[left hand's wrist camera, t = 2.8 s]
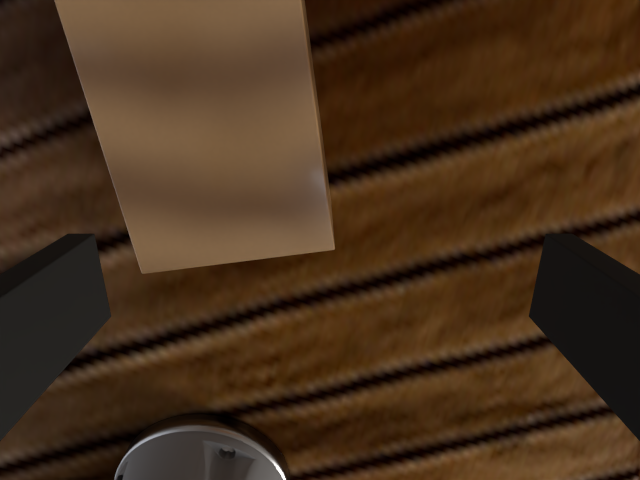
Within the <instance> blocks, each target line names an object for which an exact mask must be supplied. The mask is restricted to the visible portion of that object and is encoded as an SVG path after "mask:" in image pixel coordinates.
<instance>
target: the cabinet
mask: <svg viewBox="0 0 640 480" xmlns="http://www.w3.org/2000/svg"><path fill="white" fill-rule="evenodd" d="M54 1H55V4H56V7H57V10H58V13H59V17H60V20H61V23H62V26H63V29H64V32H65V35H66V38H67V41H68V45H69V48H70V51H71V54H72V57H73V60H74V63H75V66H76V70H77V73H78V76H79V79H80V82H81V85H82V88H83V91H84V95H85V98H86V101H87V104H88V107H89V110H90V113H91V116H92V120H93V123H94V126H95V129H96V132H97V135H98V138H99V141H100V145H101V148H102V151H103V154H104V157H105V160H106V163H107V166H108V170H109V173H110V176H111V179H112V182H113V185H114V188H115V191H116V194H117V198H118V201H119V204H120V207H121V210H122V213H123V216H124V219H125V223H126V226H127V229H128V232H129V235H130V238H131V241H132V244H133V248H134V251H135V254H136V257H137V260H138V263H139V266H140V269H141V273H142V274H145V273H153V272H161V271H169V270H177V269H185V268H193V267H201V266H209V265H217V264H224V263H232V262H240V261H248V260H256V259H264V258H272V257H280V256H288V255H296V254H304V253H312V252H320V251H328V250H334V249H335V245H334V233H333V220H332V208H331V197H330V190H329V182H328V175H327V167H326V160H325V152H324V145H323V137H322V129H321V122H320V114H319V107H318V99H317V92H316V84H315V77H314V69H313V61H312V54H311V46H310V39H309V31H308V24H307V16H306V8H305V1H304V0H54Z"/></svg>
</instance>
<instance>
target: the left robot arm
mask: <svg viewBox="0 0 640 480" xmlns="http://www.w3.org/2000/svg"><path fill="white" fill-rule="evenodd" d="M110 317H111V313H110V308H109V303H108V299H107V294H106V289H105V284H104V279H103V274H102V269H101V264H100V260H99V255H98V250H97V245H96V240H95V235H94V234H67V235H65V236H63V237H62V238H60V239H58V240H57V241H55V242H53V243H52V244H50V245H49V246H47V247H45V248H44V249H42V250H40V251H39V252H37V253H35V254H34V255H32V256H30V257H29V258H27V259H25V260H24V261H22V262H20V263H19V264H17V265H15V266H14V267H12V268H10V269H9V270H7V271H5V272H4V273H2V274H1V275H0V441H1V440H2V438H3V437H4V436H5V435H6V434H7V433H8V432H9V431H10V429H11V428H12V427H13V426H14V425H15V424H16V423H17V422H18V420H19V419H20V418H21V417H22V416H23V415H24V414H25V413H26V411H27V410H28V409H29V408H30V407H31V406H32V405H33V404H34V402H35V401H36V400H37V399H38V398H39V397H40V396H41V395H42V393H43V392H44V391H45V390H46V389H47V388H48V387H49V386H50V384H51V383H52V382H53V381H54V380H55V379H56V378H57V377H58V375H59V374H60V373H61V372H62V371H63V370H64V369H65V368H66V366H67V365H68V364H69V363H70V362H71V361H72V360H73V359H74V357H75V356H76V355H77V354H78V353H79V352H80V351H81V350H82V348H83V347H84V346H85V345H86V344H87V343H88V342H89V341H90V339H91V338H92V337H93V336H94V335H95V334H96V333H97V332H98V331H99V329H100V328H101V327H102V326H103V325H104V324H105V323H106V322H107V320H108V319H109V318H110ZM529 317H530V318H531V319H532V320H533V322H534V323H535V324H536V325H537V326H538V327H539V328H540V329H541V331H542V332H543V333H544V334H545V335H546V336H547V337H548V338H549V339H550V341H551V342H552V343H553V344H554V345H555V346H556V347H557V348H558V350H559V351H560V352H561V353H562V354H563V355H564V356H565V357H566V359H567V360H568V361H569V362H570V363H571V364H572V365H573V366H574V368H575V369H576V370H577V371H578V372H579V373H580V374H581V375H582V377H583V378H584V379H585V380H586V381H587V382H588V383H589V384H590V386H591V387H592V388H593V389H594V390H595V391H596V392H597V393H598V395H599V396H600V397H601V398H602V399H603V400H604V401H605V402H606V404H607V405H608V406H609V407H610V408H611V409H612V410H613V411H614V413H615V414H616V415H617V416H618V417H619V418H620V419H621V420H622V422H623V423H624V424H625V425H626V426H627V427H628V428H629V429H630V431H631V432H632V433H633V434H634V435H635V436H636V437H637V438H638V440H639V441H640V275H639V274H638V273H636V272H635V271H633V270H631V269H630V268H628V267H626V266H625V265H623V264H621V263H620V262H618V261H616V260H615V259H613V258H611V257H610V256H608V255H606V254H605V253H603V252H601V251H600V250H598V249H596V248H595V247H593V246H591V245H590V244H588V243H586V242H585V241H583V240H582V239H580V238H578V237H577V236H575V235H573V234H546V235H545V240H544V245H543V250H542V255H541V260H540V264H539V269H538V274H537V279H536V284H535V289H534V294H533V299H532V303H531V308H530V313H529ZM114 480H290V474H289V469H288V466H287V463H286V461H285V459H284V457H283V455H282V454H281V452H280V451H279V450H278V448H277V447H276V446H275V445H274V444H273V443H272V442H271V441H270V440H269V439H268V438H267V437H266V436H264V435H263V434H262V433H260V432H259V431H257V430H255V429H254V428H252V427H250V426H248V425H246V424H244V423H241V422H239V421H236V420H233V419H230V418H226V417H222V416H216V415H207V414H189V415H181V416H176V417H171V418H168V419H165V420H162V421H160V422H157V423H155V424H153V425H151V426H150V427H148V428H146V429H145V430H144V431H142V432H141V433H140V434H139V435H138V436H137V437H136V438H135V439H134V440H133V441H132V443H131V444H130V446H129V448H128V449H127V451H126V453H125V455H124V457H123V459H122V461H121V463H120V465H119V467H118V469H117V472H116V474H115V479H114Z"/></svg>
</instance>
